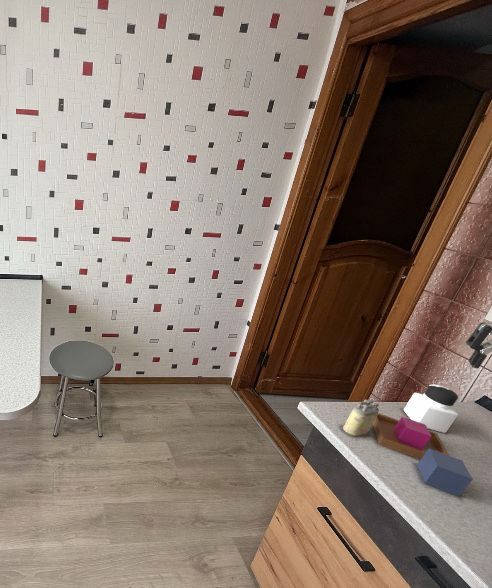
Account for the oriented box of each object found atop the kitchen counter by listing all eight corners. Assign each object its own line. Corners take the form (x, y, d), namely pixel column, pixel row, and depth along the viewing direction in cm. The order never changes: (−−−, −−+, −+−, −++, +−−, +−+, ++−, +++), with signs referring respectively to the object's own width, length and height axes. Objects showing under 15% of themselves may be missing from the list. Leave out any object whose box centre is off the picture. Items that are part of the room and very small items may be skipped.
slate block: (448, 477, 81) (462, 460, 78) (458, 496, 76) (473, 479, 74) (416, 465, 84) (428, 448, 81) (424, 483, 79) (437, 465, 76)
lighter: (357, 423, 95) (373, 396, 91) (371, 434, 92) (388, 406, 88) (339, 427, 94) (354, 400, 89) (352, 438, 90) (368, 410, 86)
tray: (433, 438, 92) (436, 433, 92) (449, 470, 83) (454, 465, 82) (370, 416, 99) (373, 411, 98) (378, 444, 89) (382, 438, 88)
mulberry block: (416, 437, 91) (425, 424, 89) (421, 450, 87) (431, 436, 85) (393, 429, 94) (401, 416, 92) (397, 441, 90) (406, 427, 88)
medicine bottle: (445, 433, 95) (469, 401, 90) (415, 426, 97) (437, 393, 92) (430, 416, 101) (451, 385, 96) (402, 409, 103) (421, 378, 98)
